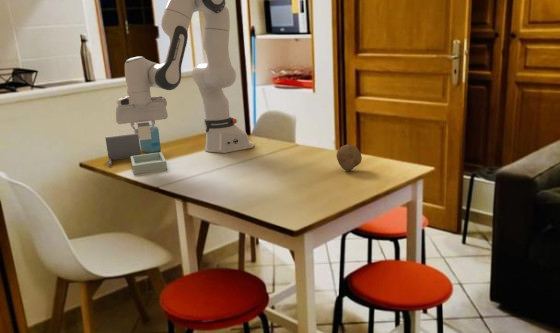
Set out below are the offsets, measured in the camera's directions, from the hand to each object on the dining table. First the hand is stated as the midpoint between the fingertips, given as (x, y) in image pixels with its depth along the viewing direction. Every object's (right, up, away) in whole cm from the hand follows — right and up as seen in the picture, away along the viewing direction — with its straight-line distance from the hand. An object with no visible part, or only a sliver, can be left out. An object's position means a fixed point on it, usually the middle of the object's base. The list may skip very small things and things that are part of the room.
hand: (144, 132), depth 211 cm
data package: (-5, -7, +31) cm, 32 cm away
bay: (-12, -12, +16) cm, 23 cm away
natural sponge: (+81, -16, -19) cm, 85 cm away
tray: (+1, -14, +4) cm, 15 cm away
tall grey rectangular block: (0, -2, +1) cm, 2 cm away
